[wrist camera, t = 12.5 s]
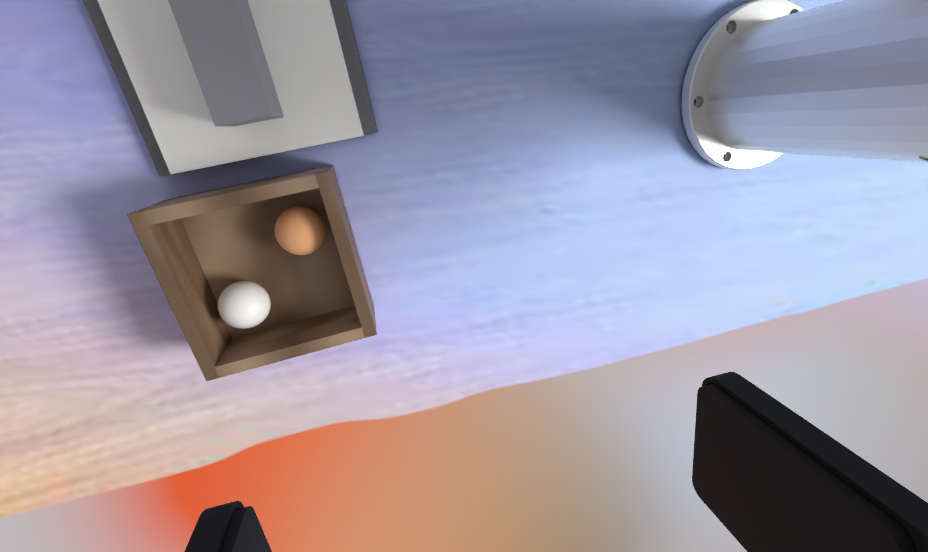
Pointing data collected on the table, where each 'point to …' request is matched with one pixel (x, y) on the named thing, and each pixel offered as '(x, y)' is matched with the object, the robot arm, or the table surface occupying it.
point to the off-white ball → (244, 304)
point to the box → (258, 270)
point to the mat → (134, 103)
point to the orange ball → (300, 230)
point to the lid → (235, 76)
